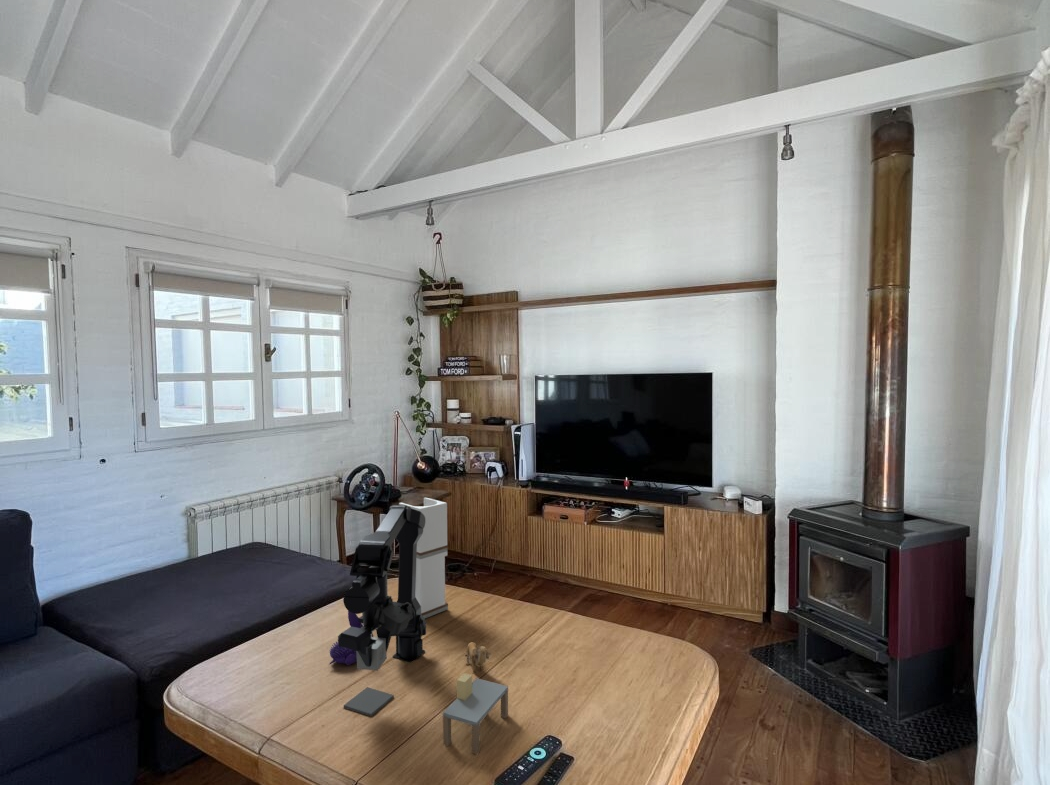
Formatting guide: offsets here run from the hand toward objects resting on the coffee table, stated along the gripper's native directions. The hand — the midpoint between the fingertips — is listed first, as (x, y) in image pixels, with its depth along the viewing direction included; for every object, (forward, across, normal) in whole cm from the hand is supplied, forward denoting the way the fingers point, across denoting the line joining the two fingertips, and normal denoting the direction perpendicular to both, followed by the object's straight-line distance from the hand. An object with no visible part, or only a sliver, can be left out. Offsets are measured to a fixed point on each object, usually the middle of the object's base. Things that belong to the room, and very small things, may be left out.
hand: (376, 660), depth 128 cm
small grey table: (+11, +1, -26) cm, 28 cm away
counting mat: (+11, 0, +2) cm, 11 cm away
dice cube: (+1, 0, +1) cm, 2 cm away
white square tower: (+12, +48, +19) cm, 53 cm away
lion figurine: (+11, +23, -13) cm, 29 cm away
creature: (+11, +16, +20) cm, 28 cm away
